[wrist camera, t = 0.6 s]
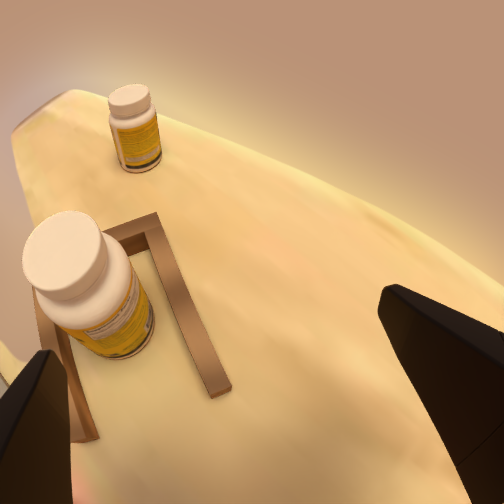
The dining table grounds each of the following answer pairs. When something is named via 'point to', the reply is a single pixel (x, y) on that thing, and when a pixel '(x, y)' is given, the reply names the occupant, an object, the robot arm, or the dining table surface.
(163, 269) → the open wooden u-frame
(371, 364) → the dining table surface
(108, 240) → the pill bottle
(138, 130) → the supplement bottle
